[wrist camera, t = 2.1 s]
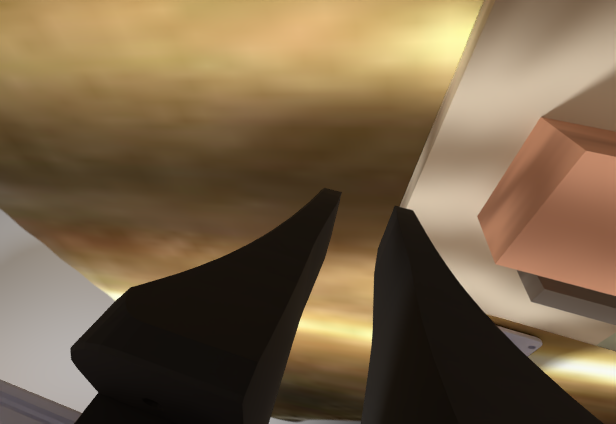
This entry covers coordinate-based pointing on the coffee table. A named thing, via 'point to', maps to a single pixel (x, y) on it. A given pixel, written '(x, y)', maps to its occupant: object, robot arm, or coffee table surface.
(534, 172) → the block
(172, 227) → the coffee table surface
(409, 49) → the coffee table surface
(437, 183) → the deck
